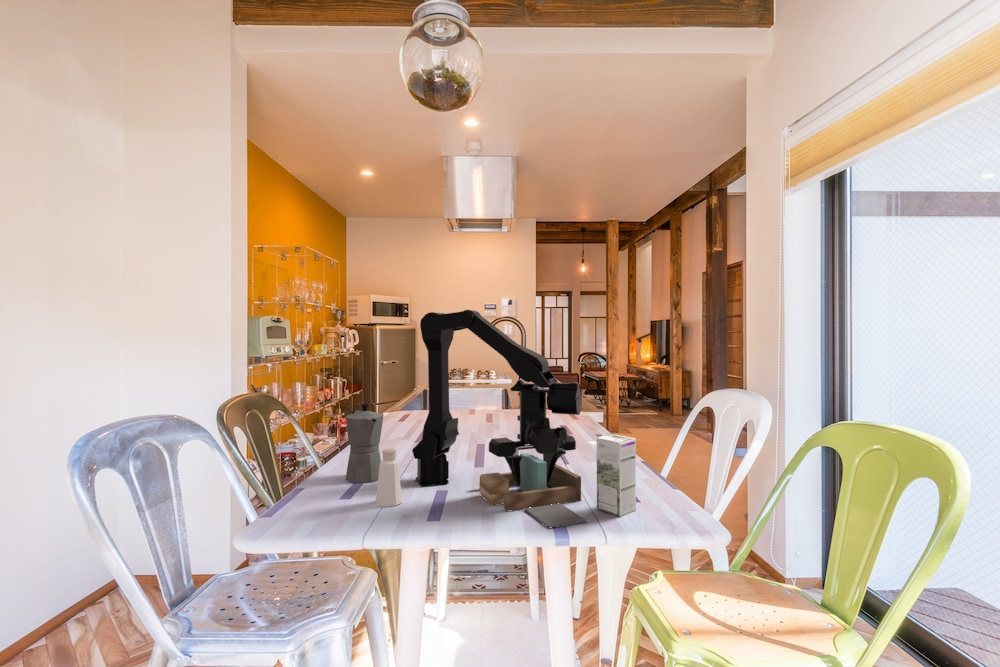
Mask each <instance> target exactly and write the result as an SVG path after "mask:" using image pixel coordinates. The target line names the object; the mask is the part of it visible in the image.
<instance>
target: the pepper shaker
mask: <svg viewBox="0 0 1000 667" xmlns="http://www.w3.org/2000/svg"><path fill="white" fill-rule="evenodd" d="M381 453H382V460H381V462H380V468H379V477H378V481H377V487H376V495H375V496H376V498H375V503H376V505H377V507H381V506H382V507H381V508H390V507H391V506H393V507H397V506H398V504H399V505H400V503H401V504H402V503H403V499H402V488H401V487H402V486H401V478H400V475H401V474H400V466H399V461H398V460H396V457H397V449H395V448H393V447H389V448H384V449H382V452H381ZM396 505H397V506H396Z"/></svg>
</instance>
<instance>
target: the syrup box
mask: <svg viewBox="0 0 1000 667" xmlns="http://www.w3.org/2000/svg"><path fill="white" fill-rule="evenodd" d="M636 442H637V439H636V437H630V436H624V435H619V434H614V433H611V434H610V433H609V434H608V433H607V434H604V435H600V436H599V437H596V509H597V510H600V511H603V512H606V513H609V514H611V515H612V514H613V515H615V516H618V517H622V516H624V515H628V514H630V513H633V512H634V511H636V510H637V498H636V497H637V494H636V492H637V491H636V489H637V487H636V482H637V481H636V479H637V478H636V472H637V470H636V468H637V465H636V463H637V462H636V461H637V459H636V458H637V444H636Z"/></svg>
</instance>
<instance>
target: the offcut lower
mask: <svg viewBox="0 0 1000 667" xmlns="http://www.w3.org/2000/svg"><path fill="white" fill-rule="evenodd" d="M479 491H480V493H479V494H481V495H482V496H483V497H484V498H485V499H486V500H487V501H488V502H489V503H490V504H491V505H493V506H497V505H496V504H501V505H503V504H502V503H504V494H510V493H511V492H509V493H502V494H493V495H490V494H489V493H488V492H487V491H486V490H485V489H484V488H483V487H482V486H481V485H480V484H479ZM482 496H481V497H482ZM483 497H482V498H483ZM484 498H483V499H484ZM485 499H484V500H485ZM486 500H485V501H486ZM487 501H486V502H487ZM488 502H487V503H488ZM489 503H488V504H489ZM490 504H489V505H490ZM491 505H490V506H491Z"/></svg>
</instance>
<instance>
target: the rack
mask: <svg viewBox="0 0 1000 667" xmlns="http://www.w3.org/2000/svg"><path fill="white" fill-rule="evenodd" d="M499 473H500V474H501V475H502V476H503V477H505V478H506V479H507V480H508V481H509V488H511V487H510V486H515V487H518V486H517V485H516V482H515V480H514V477H513V475H512V472H511V471H510V472H502V473H501V472H499ZM547 484H548V486H549V485H550V486H549V487H551V488H548V487H547V489H541V490H533V491H525V492H524V491H518V492H509V493H510V494H504V504H503V507H504V509H505V510H504V511H506V512H509V511H508V510H512V511H516V510H515V509H519V510H523V509H522V508H529V507H538V506H545V505H551V504H558V503H561V504H566V503H565V502H567V503H573V501H574V502H581V501H582V476H580V475H579V474H576V473H575V472H572V471H571V470H568V469H567V468H564V467H562V466H560V465H558V464H557V463H556V464H555V466H554V469H553V472H552V474H551V477H550V480H549V482H548V483H547ZM480 485H481V475H479V486H480Z"/></svg>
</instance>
